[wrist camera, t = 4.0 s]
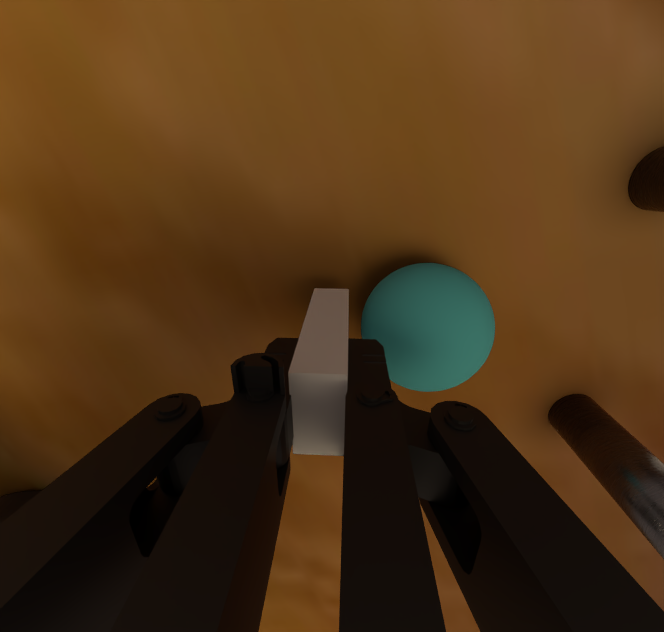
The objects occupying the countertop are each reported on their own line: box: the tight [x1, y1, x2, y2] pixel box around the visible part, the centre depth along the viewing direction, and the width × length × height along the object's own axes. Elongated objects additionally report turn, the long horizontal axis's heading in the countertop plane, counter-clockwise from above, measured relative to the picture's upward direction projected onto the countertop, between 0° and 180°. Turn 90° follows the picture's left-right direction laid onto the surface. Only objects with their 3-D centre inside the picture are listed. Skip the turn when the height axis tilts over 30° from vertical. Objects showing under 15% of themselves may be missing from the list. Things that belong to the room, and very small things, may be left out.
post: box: [549, 394, 664, 559], centre depth 15 cm, size 3×3×9 cm
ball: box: [361, 263, 495, 392], centre depth 14 cm, size 6×6×6 cm
